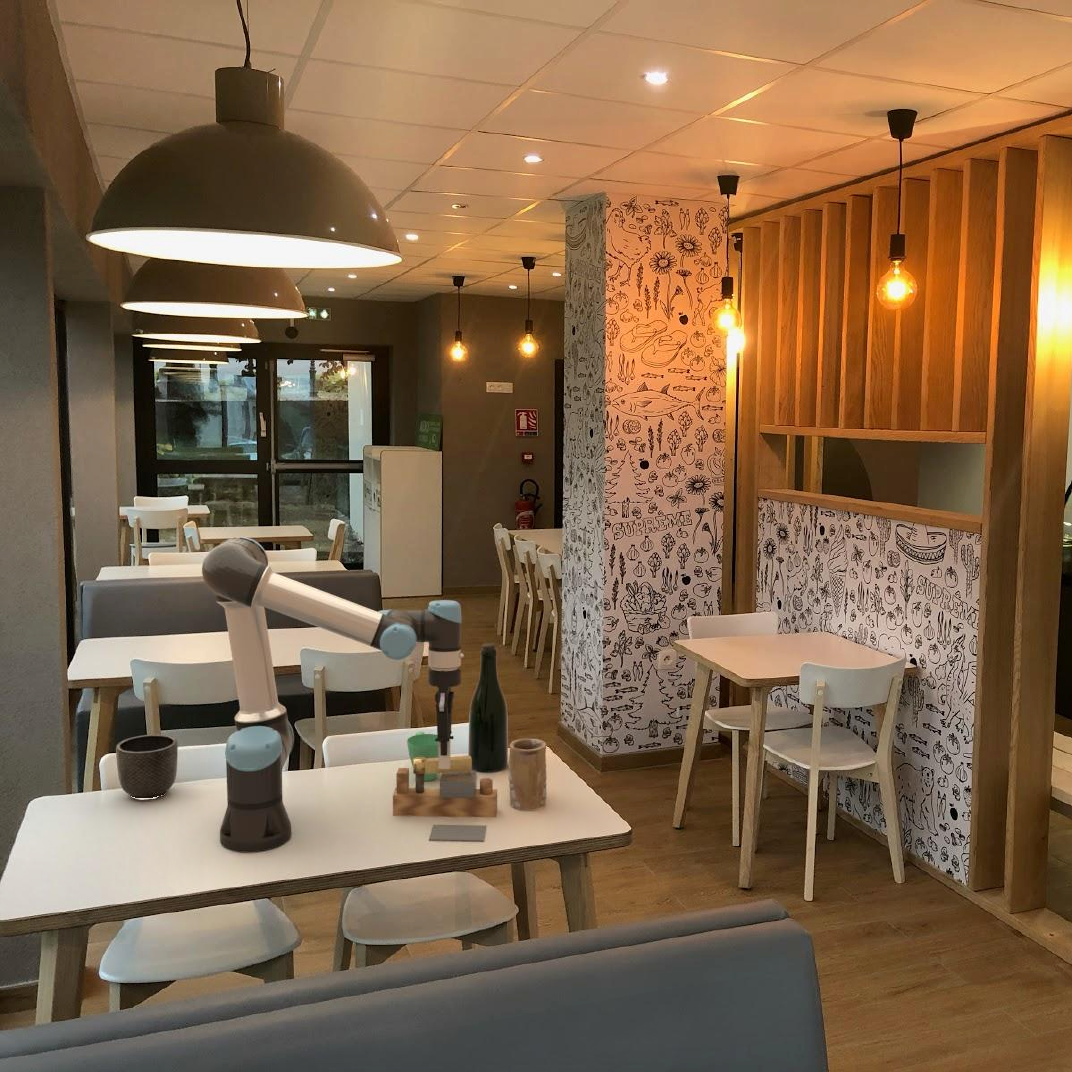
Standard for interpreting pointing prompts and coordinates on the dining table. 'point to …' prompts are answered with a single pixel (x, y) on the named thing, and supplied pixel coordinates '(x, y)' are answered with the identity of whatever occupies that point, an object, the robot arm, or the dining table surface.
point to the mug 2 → (527, 774)
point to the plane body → (441, 799)
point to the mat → (458, 833)
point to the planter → (147, 765)
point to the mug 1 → (423, 749)
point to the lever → (431, 765)
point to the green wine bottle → (488, 717)
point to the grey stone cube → (458, 784)
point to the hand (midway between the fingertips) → (444, 768)
